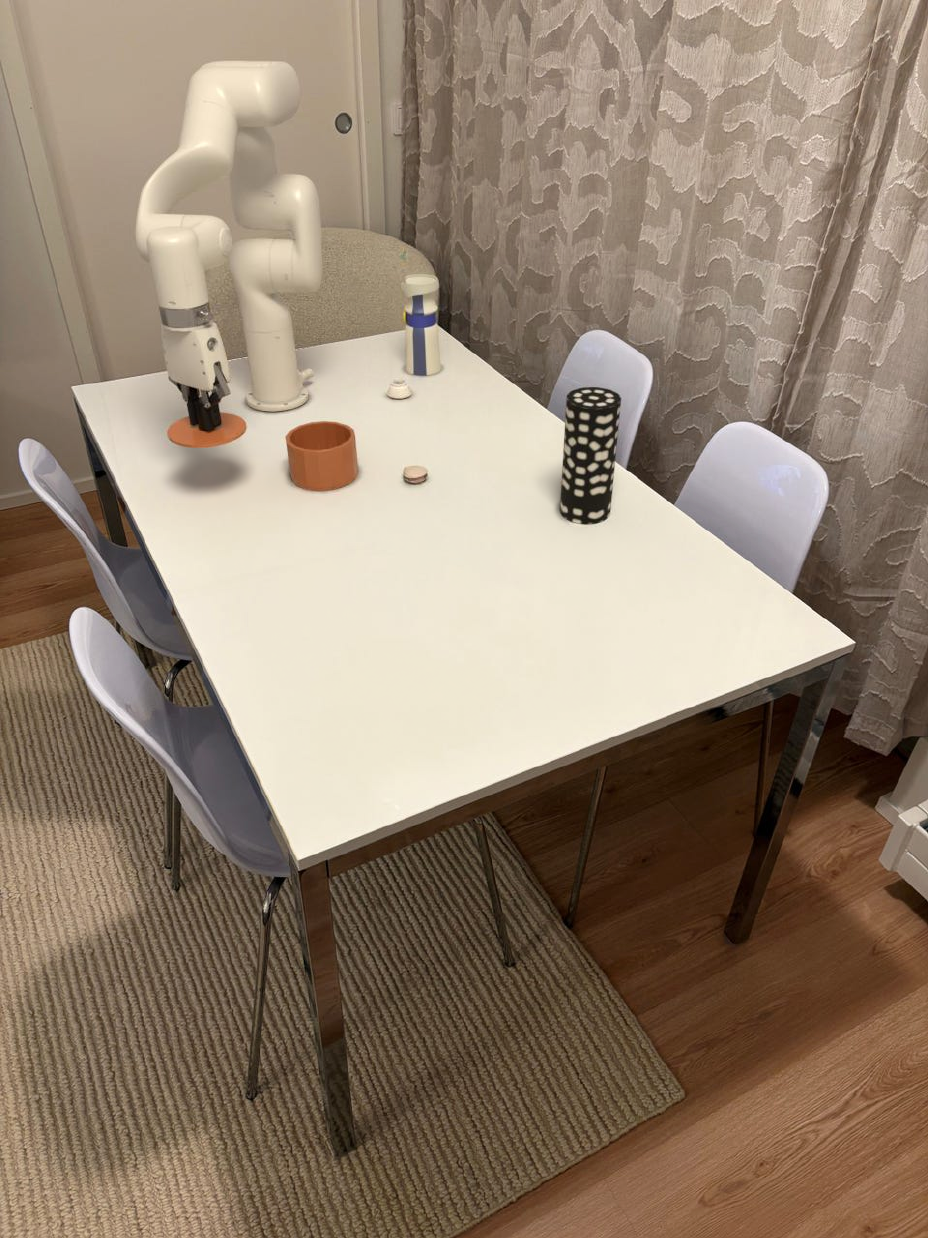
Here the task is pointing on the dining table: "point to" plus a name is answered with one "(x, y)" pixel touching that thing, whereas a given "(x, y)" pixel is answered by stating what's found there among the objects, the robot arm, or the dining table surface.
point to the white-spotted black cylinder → (589, 454)
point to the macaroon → (415, 474)
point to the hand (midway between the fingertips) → (206, 424)
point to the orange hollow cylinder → (322, 455)
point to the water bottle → (420, 323)
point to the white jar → (399, 389)
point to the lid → (203, 438)
